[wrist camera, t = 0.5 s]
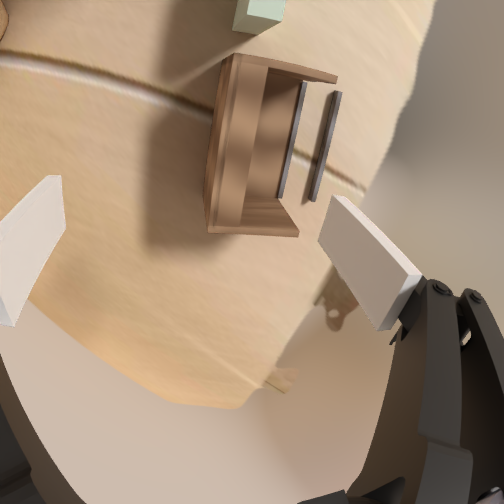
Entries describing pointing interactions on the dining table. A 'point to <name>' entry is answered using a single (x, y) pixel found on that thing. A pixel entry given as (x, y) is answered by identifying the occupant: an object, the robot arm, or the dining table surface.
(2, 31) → the container
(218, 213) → the cabinet
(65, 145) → the dining table surface
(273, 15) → the door
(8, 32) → the dining table surface
